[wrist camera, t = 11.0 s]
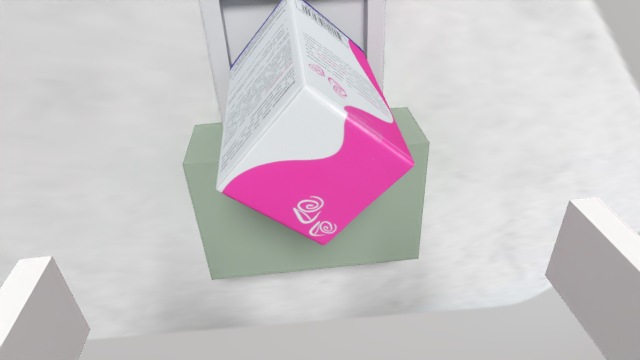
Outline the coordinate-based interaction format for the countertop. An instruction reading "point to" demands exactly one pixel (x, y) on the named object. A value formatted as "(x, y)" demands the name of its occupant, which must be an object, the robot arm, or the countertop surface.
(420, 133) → the sliding drawer box
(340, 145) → the supplement box
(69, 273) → the countertop surface
